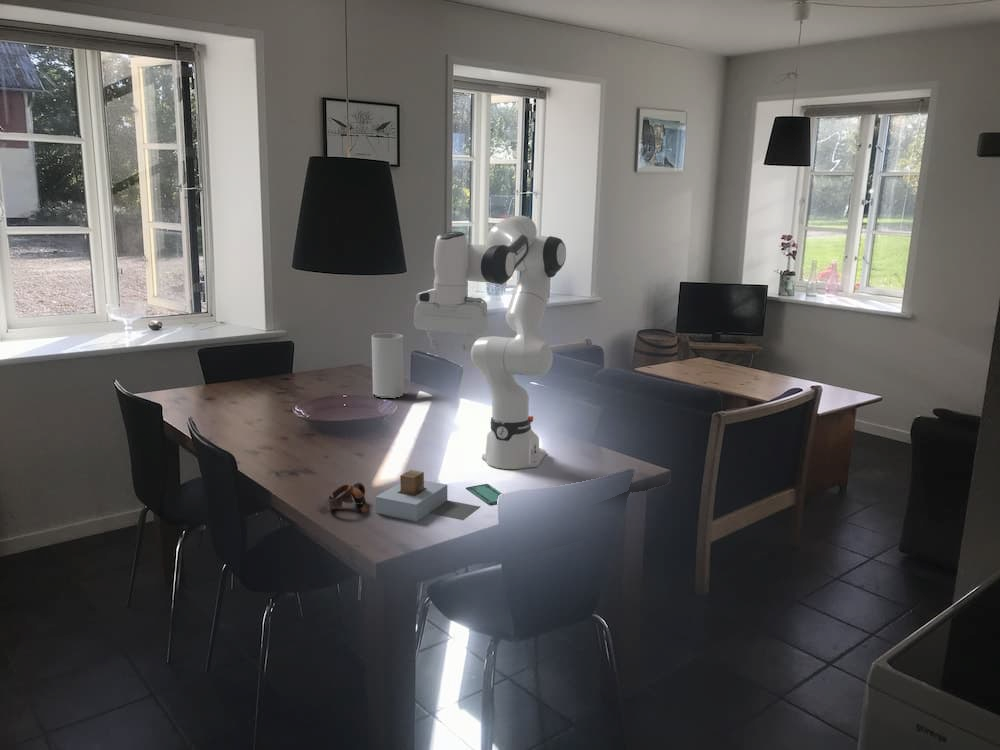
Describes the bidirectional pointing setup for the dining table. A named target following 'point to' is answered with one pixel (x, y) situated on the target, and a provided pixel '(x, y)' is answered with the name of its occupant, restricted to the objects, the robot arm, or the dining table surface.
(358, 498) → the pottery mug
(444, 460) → the dining table surface
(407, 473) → the walnut block
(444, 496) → the pocket holder
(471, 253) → the robot arm
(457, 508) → the rubber mat
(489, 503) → the smartphone
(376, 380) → the cylinder vase
